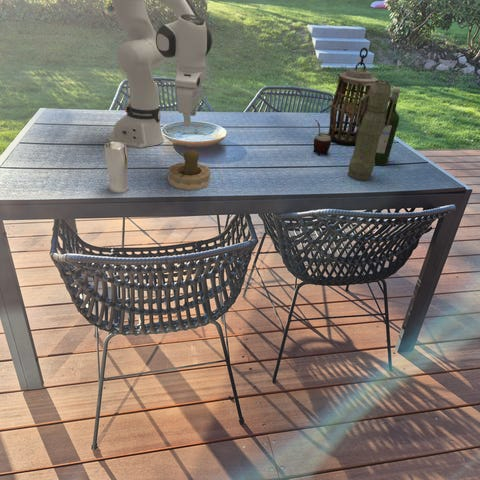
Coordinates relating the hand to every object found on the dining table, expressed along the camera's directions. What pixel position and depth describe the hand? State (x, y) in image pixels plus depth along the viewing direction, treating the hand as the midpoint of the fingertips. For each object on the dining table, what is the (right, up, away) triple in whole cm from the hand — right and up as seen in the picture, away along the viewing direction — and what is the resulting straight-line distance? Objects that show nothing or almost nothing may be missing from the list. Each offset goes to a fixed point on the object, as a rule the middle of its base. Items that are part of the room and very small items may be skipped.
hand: (190, 119), depth 139 cm
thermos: (+62, -15, +27) cm, 69 cm away
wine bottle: (+73, -7, +41) cm, 84 cm away
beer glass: (-24, -22, +3) cm, 33 cm away
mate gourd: (+50, -2, +44) cm, 67 cm away
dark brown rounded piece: (-1, -18, +12) cm, 22 cm away
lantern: (+65, +7, +61) cm, 90 cm away
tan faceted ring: (-2, -18, +12) cm, 22 cm away
